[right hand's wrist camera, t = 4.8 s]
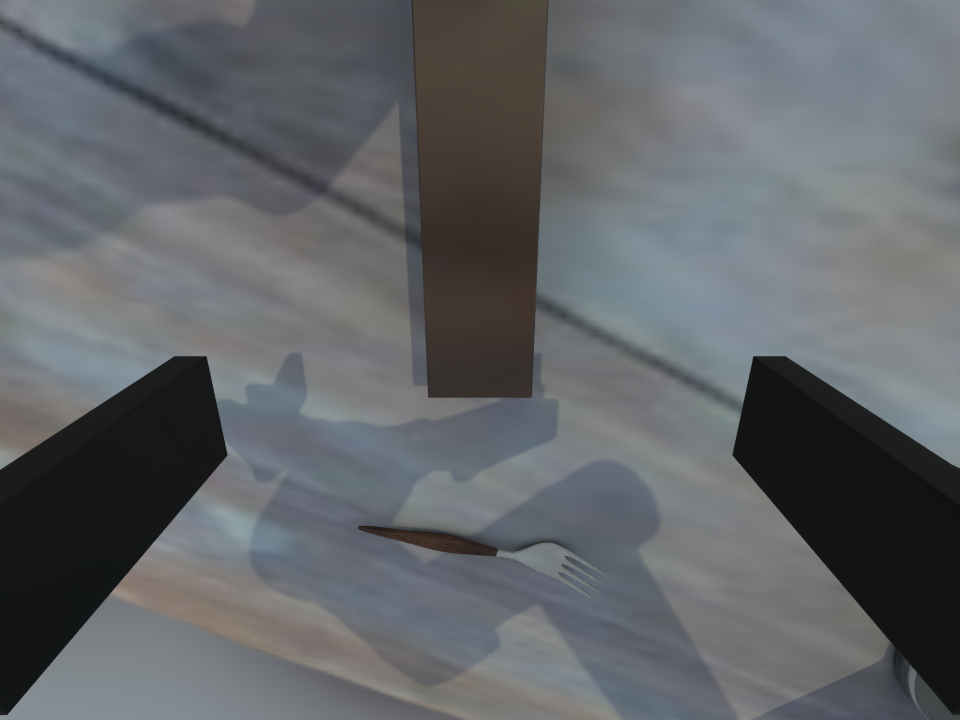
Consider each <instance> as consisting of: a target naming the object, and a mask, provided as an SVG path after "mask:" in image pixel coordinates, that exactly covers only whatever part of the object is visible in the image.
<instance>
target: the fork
mask: <svg viewBox="0 0 960 720" xmlns="http://www.w3.org/2000/svg"><path fill="white" fill-rule="evenodd" d="M358 529H360V530H362V531H365V532H368V533H372V534H375V535H379V536H383V537H387V538H391V539H395V540H399V541H403V542H406V543H410V544H414V545H418V546H421V547H425V548H429V549H433V550H437V551H442V552H449V553H458V554H470V555H484V556H497V557H506V558H511V559H515V560H517V561H519V562H521V563H523V564H525V565H526V566H528V567H530V568H532V569H534V570H536V571H538V572H540V573H542V574H545V575H547V576H550V577H552V578H555V579H557V580H559V581H561V582H563V583H565V584H567V585H568V586H570V587H572V588H574V589H576V590H577V591H579V592H581V593H582V594H584V595H586V596H587V597H589V598H591V599H592V600H594V601H596V599H595V598H594V597H592V596H591V595H589V594H588V593H586V592H585V591H584V590H582V589H581V588H579V587H578V586H576V585H575V584H573V583H572V582H570V581H568V580H567V579H565V578H564V577H562V576H561V575H560V574H559V572H561V573H564V574H566V575H568V576H570V577H572V578H573V579H575V580H577V581H579V582H581V583H582V584H584V585H586V586H588V587H589V588H591V589H593V590H594V591H596V592H597V593H600V591H598V590H597V589H596V588H594V587H593V586H591V585H590V584H588V583H587V582H585V581H584V580H582V579H581V578H579V577H578V576H576V575H575V574H573V573H572V572H570V571H568V570H567V569H565V568H564V567H563V566H562V564H565V565H567V566H569V567H571V568H573V569H575V570H577V571H579V572H580V573H582V574H584V575H586V576H588V577H589V578H591V579H593V580H595V581H596V582H598V583H600V584H601V585H603V583H602V582H601V581H599V580H598V579H596V578H595V577H593V576H592V575H591V574H589V573H587V572H586V571H584V570H583V569H581V568H580V567H578V566H577V565H575V564H573V563H572V562H570V561H569V560H567V559H566V558H565V556H568V557H571V558H573V559H575V560H577V561H579V562H581V563H582V564H584V565H586V566H588V567H590V568H592V569H593V570H595V571H597V572H599V573H600V574H602V575H604V576H605V577H606V576H607V575H606V574H605V573H603V572H602V571H600V570H599V569H597V568H596V567H594V566H593V565H591V564H590V563H588V562H587V561H585V560H584V559H582V558H580V557H579V556H577V555H575V554H574V553H572V552H570V551H568V550H567V549H565V548H563V547H561V546H559V545H557V544H554V543H548V542H545V543H539V544H535V545H533V546H530V547H528V548H525V549H523V550H520V551H515V552H510V551H504V550H500V549H497V548H494V547H490V546H487V545H484V544H480V543H477V542H474V541H470V540H467V539H463V538H460V537H456V536H452V535H447V534H440V533H430V532H419V531H408V530H399V529H392V528H383V527H374V526H358Z"/></svg>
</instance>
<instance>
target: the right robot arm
mask: <svg viewBox="0 0 960 720" xmlns="http://www.w3.org/2000/svg"><path fill="white" fill-rule="evenodd" d="M226 456H227V450H226V446H225V441H224V436H223V431H222V427H221V422H220V417H219V413H218V408H217V403H216V399H215V394H214V389H213V384H212V380H211V375H210V370H209V366H208V361H207V356H174V357H173V358H171V359H170V360H168V361H167V362H165V363H164V364H162V365H161V366H159V367H157V368H156V369H154V370H153V371H151V372H150V373H148V374H147V375H145V376H144V377H142V378H141V379H139V380H138V381H136V382H134V383H133V384H131V385H130V386H128V387H127V388H125V389H124V390H122V391H121V392H119V393H118V394H116V395H114V396H113V397H111V398H110V399H108V400H107V401H105V402H104V403H102V404H101V405H99V406H98V407H96V408H94V409H93V410H91V411H90V412H88V413H87V414H85V415H84V416H82V417H81V418H79V419H78V420H76V421H74V422H73V423H71V424H70V425H68V426H67V427H65V428H64V429H62V430H61V431H59V432H58V433H56V434H55V435H53V436H51V437H50V438H48V439H47V440H45V441H44V442H42V443H41V444H39V445H38V446H36V447H35V448H33V449H31V450H30V451H28V452H27V453H25V454H24V455H22V456H21V457H19V458H18V459H16V460H15V461H13V462H11V463H10V464H8V465H7V466H5V467H4V468H2V469H1V470H0V715H8V713H9V712H10V711H11V710H12V709H13V708H14V706H15V705H16V704H17V703H18V702H19V700H20V699H21V698H22V697H23V696H24V695H25V693H26V692H27V691H28V690H29V689H30V687H31V686H32V685H33V684H34V683H35V682H36V680H37V679H38V678H39V677H40V676H41V675H42V673H43V672H44V671H45V670H46V669H47V667H48V666H49V665H50V664H51V663H52V662H53V660H54V659H55V658H56V657H57V656H58V654H59V653H60V652H61V651H62V650H63V649H64V647H65V646H66V645H67V644H68V643H69V642H70V640H71V639H72V638H73V637H74V636H75V634H76V633H77V632H78V631H79V630H80V629H81V627H82V626H83V625H84V624H85V623H86V621H87V620H88V619H89V618H90V617H91V616H92V614H93V613H94V612H95V611H96V610H97V608H98V607H99V606H100V605H101V604H102V603H103V601H104V600H105V599H106V598H107V597H108V596H109V594H110V593H111V592H112V591H113V590H114V588H115V587H116V586H117V585H118V584H119V583H120V581H121V580H122V579H123V578H124V577H125V576H126V574H127V573H128V572H129V571H130V570H131V568H132V567H133V566H134V565H135V564H136V563H137V561H138V560H139V559H140V558H141V557H142V555H143V554H144V553H145V552H146V551H147V550H148V548H149V547H150V546H151V545H152V544H153V542H154V541H155V540H156V539H157V538H158V537H159V535H160V534H161V533H162V532H163V531H164V530H165V528H166V527H167V526H168V525H169V524H170V522H171V521H172V520H173V519H174V518H175V517H176V515H177V514H178V513H179V512H180V511H181V509H182V508H183V507H184V506H185V505H186V504H187V502H188V501H189V500H190V499H191V498H192V497H193V495H194V494H195V493H196V492H197V491H198V489H199V488H200V487H201V486H202V485H203V484H204V482H205V481H206V480H207V479H208V478H209V476H210V475H211V474H212V473H213V472H214V471H215V469H216V468H217V467H218V466H219V465H220V464H221V462H222V461H223V460H224V459H225V458H226ZM733 456H734V458H735V459H736V460H737V461H738V462H739V464H740V465H741V466H742V467H743V468H744V469H745V471H746V472H747V473H748V474H749V475H750V476H751V478H752V479H753V480H754V481H755V482H756V484H757V485H758V486H759V487H760V488H761V489H762V491H763V492H764V493H765V494H766V495H767V497H768V498H769V499H770V500H771V501H772V502H773V504H774V505H775V506H776V507H777V508H778V509H779V511H780V512H781V513H782V514H783V515H784V517H785V518H786V519H787V520H788V521H789V522H790V524H791V525H792V526H793V527H794V528H795V530H796V531H797V532H798V533H799V534H800V535H801V537H802V538H803V539H804V540H805V541H806V543H807V544H808V545H809V546H810V547H811V548H812V550H813V551H814V552H815V553H816V554H817V555H818V557H819V558H820V559H821V560H822V561H823V563H824V564H825V565H826V566H827V567H828V568H829V570H830V571H831V572H832V573H833V574H834V576H835V577H836V578H837V579H838V580H839V581H840V583H841V584H842V585H843V586H844V587H845V588H846V590H847V591H848V592H849V593H850V594H851V596H852V597H853V598H854V599H855V600H856V601H857V603H858V604H859V605H860V606H861V607H862V609H863V610H864V611H865V612H866V613H867V614H868V616H869V617H870V618H871V619H872V620H873V621H874V623H875V624H876V625H877V626H878V627H879V629H880V630H881V631H882V632H883V633H884V634H885V636H886V637H887V638H888V639H889V640H890V642H891V643H892V644H893V645H894V646H895V647H896V649H897V654H896V659H895V671H896V676H897V679H898V682H899V684H900V686H901V687H902V689H903V690H904V691H905V693H906V694H907V695H908V697H909V698H910V699H911V700H912V702H913V703H914V704H915V705H916V707H917V708H918V709H919V710H920V712H921V713H922V714H923V715H924V716H925V717H926V718H927V719H928V720H960V468H958V467H956V466H954V465H952V464H950V463H949V462H947V461H945V460H944V459H942V458H941V457H939V456H938V455H936V454H935V453H933V452H932V451H930V450H929V449H927V448H925V447H924V446H922V445H921V444H919V443H918V442H916V441H915V440H913V439H912V438H910V437H909V436H907V435H905V434H904V433H902V432H901V431H899V430H898V429H896V428H895V427H893V426H892V425H890V424H889V423H887V422H885V421H884V420H882V419H881V418H879V417H878V416H876V415H875V414H873V413H872V412H870V411H869V410H867V409H866V408H864V407H862V406H861V405H859V404H858V403H856V402H855V401H853V400H852V399H850V398H849V397H847V396H846V395H844V394H842V393H841V392H839V391H838V390H836V389H835V388H833V387H832V386H830V385H829V384H827V383H826V382H824V381H822V380H821V379H819V378H818V377H816V376H815V375H813V374H812V373H810V372H809V371H807V370H806V369H804V368H803V367H801V366H799V365H798V364H796V363H795V362H793V361H792V360H790V359H789V358H787V357H786V356H753V361H752V366H751V370H750V375H749V380H748V384H747V389H746V394H745V399H744V403H743V408H742V413H741V417H740V422H739V427H738V431H737V436H736V441H735V446H734V450H733Z"/></svg>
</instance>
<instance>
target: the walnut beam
mask: <svg viewBox="0 0 960 720" xmlns="http://www.w3.org/2000/svg"><path fill="white" fill-rule="evenodd" d="M412 19H413V43H414V68H415V92H416V116H417V140H418V164H419V188H420V212H421V236H422V260H423V284H424V308H425V332H426V356H427V380H428V397H429V398H531V397H532V379H533V355H534V331H535V307H536V283H537V259H538V235H539V211H540V187H541V163H542V139H543V115H544V91H545V67H546V43H547V19H548V0H412Z"/></svg>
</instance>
